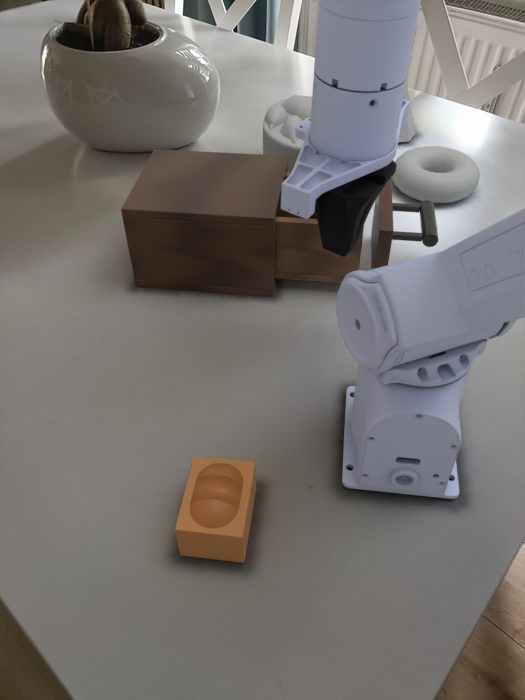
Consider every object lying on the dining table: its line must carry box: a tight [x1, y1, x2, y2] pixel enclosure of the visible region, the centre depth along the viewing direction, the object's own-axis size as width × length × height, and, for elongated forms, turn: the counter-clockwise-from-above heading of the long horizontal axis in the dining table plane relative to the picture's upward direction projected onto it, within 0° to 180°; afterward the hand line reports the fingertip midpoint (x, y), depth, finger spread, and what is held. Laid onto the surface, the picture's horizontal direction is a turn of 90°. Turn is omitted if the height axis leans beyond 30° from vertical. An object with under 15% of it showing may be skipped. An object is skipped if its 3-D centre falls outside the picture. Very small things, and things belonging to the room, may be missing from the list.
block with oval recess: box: [174, 455, 257, 564], centre depth 40 cm, size 6×4×4 cm
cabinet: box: [120, 148, 288, 297], centre depth 61 cm, size 14×12×9 cm
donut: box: [392, 145, 481, 204], centre depth 72 cm, size 10×4×10 cm
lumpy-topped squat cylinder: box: [262, 94, 312, 173], centre depth 72 cm, size 10×13×9 cm
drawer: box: [275, 172, 439, 284], centre depth 60 cm, size 17×10×7 cm, turn 82°
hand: (337, 248), depth 48 cm, fingers closed
